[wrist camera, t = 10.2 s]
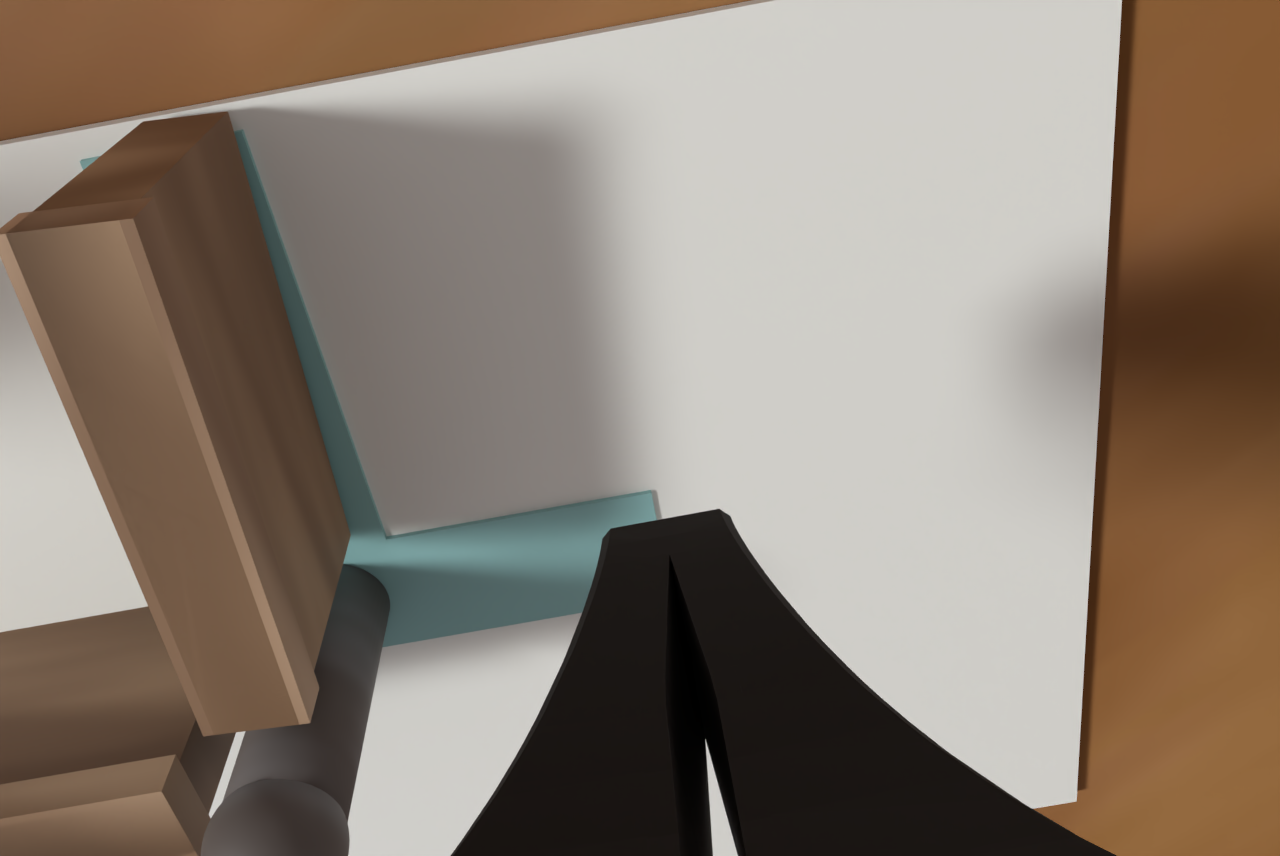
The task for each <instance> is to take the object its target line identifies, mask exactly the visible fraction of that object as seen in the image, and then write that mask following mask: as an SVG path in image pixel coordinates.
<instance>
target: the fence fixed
mask: <svg viewBox="0 0 1280 856" xmlns="http://www.w3.org/2000/svg"><path fill="white" fill-rule="evenodd" d="M389 612H390V599H389V595H388V593H387V590H386V589H385V587H384V586H383V584H382V583H381V582H380V581H379V580H378V579H377V578H376V577H375V576H373V575H372V574H371V573H369V572H367V571H365V570H363V569H361V568H358V567H355V566H352V565H346V564H343V566H342V570H341V573H340V577H339V581H338V584H337V588H336V592H335V596H334V599H333V603H332V607H331V610H330V614H329V618H328V621H327V625H326V629H325V632H324V636H323V640H322V644H321V647H320V651H319V655H318V658H317V662H316V666H315V669H314V673H315V676H316V679H317V682H318V685H319V691H318V695H317V699H316V703H315V707H314V711H313V715H312V718H311V722H310V723H308V724H300V725H292V726H284V727H276V728H267V729H259V730H251V731H245V734H244V737H243V740H242V743H241V746H240V750H239V753H238V756H237V759H236V762H235V765H234V768H233V771H232V774H231V777H230V780H229V783H228V786H227V789H226V792H225V796H224V799H223V802H222V803H221V804H220V806H219V807H218V808H217V809H216V811H215V813H214V814H213V816H212V817H211V818H210V816H209V812H210V809H211V806H212V803H213V800H214V797H215V794H216V791H217V788H218V785H219V782H220V779H221V776H222V773H223V770H224V767H225V764H226V761H227V758H228V755H229V752H230V749H231V746H232V743H233V740H234V737H235V734H236V732H235V733H227V734H219V735H211V736H203V735H202V732H201V730H200V727H199V725H198V723H197V720H196V718H195V716H194V713H193V711H192V709H191V706H190V704H189V701H188V699H187V697H186V694H185V692H184V690H183V687H182V685H181V683H180V680H179V678H178V675H177V673H176V671H175V668H174V666H173V664H172V661H171V659H170V657H169V654H168V652H167V649H166V647H165V645H164V642H163V640H162V638H161V635H160V633H159V631H158V628H157V626H156V624H155V621H154V619H153V616H152V614H151V612H150V609H149V607H148V606H147V607H141V608H136V609H130V610H124V611H119V612H113V613H107V614H102V615H96V616H90V617H85V618H79V619H73V620H68V621H62V622H56V623H50V624H45V625H39V626H33V627H28V628H22V629H16V630H11V631H5V632H0V856H348V854H349V843H350V838H349V828H348V818H349V813H350V808H351V803H352V798H353V792H354V787H355V782H356V777H357V772H358V767H359V762H360V757H361V752H362V747H363V742H364V737H365V732H366V727H367V722H368V717H369V712H370V707H371V702H372V697H373V692H374V687H375V682H376V677H377V672H378V667H379V662H380V657H381V652H382V647H383V642H384V637H385V632H386V627H387V622H388V617H389Z"/></svg>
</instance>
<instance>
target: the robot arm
mask: <svg viewBox="0 0 1280 856" xmlns="http://www.w3.org/2000/svg"><path fill="white" fill-rule="evenodd" d="M705 739H706V741H705ZM706 742H707V746H708V750H709V753H710V757H711V761H712V764H713V768H714V772H715V775H716V779H717V782H718V786H719V790H720V793H721V797H722V800H723V804H724V808H725V811H726V815H727V818H728V822H729V826H730V829H731V833H732V836H733V840H734V844H735V847H736V851H737V855H738V856H1116V855H1114V854H1112V853H1110V852H1108V851H1106V850H1104V849H1102V848H1100V847H1098V846H1096V845H1094V844H1092V843H1090V842H1088V841H1086V840H1084V839H1082V838H1080V837H1079V836H1077V835H1075V834H1074V833H1072V832H1070V831H1069V830H1067V829H1065V828H1064V827H1062V826H1060V825H1059V824H1057V823H1055V822H1054V821H1052V820H1050V819H1049V818H1047V817H1045V816H1043V815H1042V814H1040V813H1038V812H1037V811H1035V810H1033V809H1032V808H1030V807H1028V806H1027V805H1025V804H1024V803H1022V802H1021V801H1019V800H1018V799H1016V798H1015V797H1013V796H1012V795H1010V794H1009V793H1007V792H1006V791H1004V790H1003V789H1002V788H1000V787H999V786H997V785H996V784H994V783H993V782H991V781H990V780H988V779H987V778H985V777H984V776H982V775H981V774H980V773H978V772H977V771H975V770H974V769H972V768H971V767H969V766H968V765H966V764H965V763H963V762H962V761H960V760H959V759H957V758H956V757H955V756H953V755H952V754H950V753H949V752H948V751H946V750H945V749H944V748H942V747H941V746H940V745H938V744H937V743H936V742H935V741H933V740H932V739H931V738H930V737H928V736H927V735H926V734H924V733H923V732H922V731H921V730H919V729H918V728H917V727H915V726H914V725H913V724H912V723H910V722H909V721H908V720H907V719H906V718H904V717H903V716H902V715H901V714H900V713H899V712H897V711H896V710H895V709H894V708H893V707H892V706H890V705H889V704H888V703H887V702H886V701H884V700H883V699H882V698H881V697H880V696H879V695H878V694H876V693H875V692H874V691H873V690H872V689H871V688H870V687H869V686H868V685H867V684H866V683H864V682H863V681H862V680H861V679H860V678H859V677H858V676H857V675H856V674H855V673H854V672H853V671H852V670H851V669H850V668H849V667H848V666H847V665H846V664H845V663H844V662H843V661H842V660H841V659H840V658H839V657H838V656H837V655H836V654H835V653H834V652H833V651H832V650H831V649H830V648H829V647H828V646H827V645H826V644H825V643H824V642H823V641H822V640H821V639H820V637H819V636H818V635H817V634H816V633H815V632H814V631H813V630H812V629H811V628H810V627H809V625H808V624H807V623H806V622H805V621H804V620H803V619H802V617H801V616H800V615H799V614H798V613H797V611H796V610H795V609H794V608H793V607H792V606H791V604H790V603H789V602H788V601H787V600H786V598H785V597H784V596H783V595H782V594H781V593H780V591H779V590H778V589H777V588H776V586H775V585H774V584H773V582H772V581H771V580H770V579H769V577H768V576H767V575H766V573H765V572H764V570H763V569H762V568H761V566H760V565H759V563H758V562H757V561H756V559H755V558H754V557H753V555H752V554H751V552H750V551H749V549H748V547H747V546H746V544H745V543H744V541H743V540H742V538H741V536H740V534H739V533H738V531H737V529H736V527H735V525H734V523H733V521H732V519H731V516H730V515H728V514H727V513H725V512H723V511H722V510H720V509H715V510H709V511H704V512H698V513H693V514H687V515H682V516H676V517H671V518H665V519H660V520H654V521H649V522H643V523H638V524H632V525H627V526H621V527H616V528H611V529H610V530H609V531H608V532H607V534H606V535H605V536H604V537H603V538H602V544H601V550H600V555H599V559H598V563H597V567H596V571H595V575H594V578H593V581H592V585H591V588H590V591H589V594H588V597H587V600H586V603H585V606H584V609H583V612H582V614H581V617H580V620H579V622H578V625H577V627H576V630H575V633H574V635H573V638H572V640H571V643H570V645H569V648H568V651H567V653H566V656H565V658H564V660H563V663H562V665H561V667H560V669H559V672H558V674H557V676H556V678H555V680H554V682H553V684H552V686H551V688H550V691H549V693H548V695H547V697H546V699H545V701H544V703H543V705H542V707H541V710H540V712H539V714H538V716H537V718H536V720H535V722H534V724H533V726H532V727H531V729H530V731H529V733H528V735H527V737H526V739H525V740H524V742H523V744H522V746H521V748H520V749H519V751H518V753H517V755H516V757H515V758H514V760H513V762H512V763H511V765H510V767H509V768H508V770H507V772H506V773H505V775H504V777H503V778H502V780H501V782H500V783H499V785H498V787H497V788H496V790H495V791H494V793H493V795H492V796H491V798H490V799H489V800H488V802H487V803H486V805H485V806H484V808H483V809H482V811H481V812H480V814H479V815H478V817H477V818H476V820H475V821H474V823H473V824H472V826H471V827H470V829H469V830H468V832H467V833H466V835H465V836H464V838H463V839H462V840H461V842H460V843H459V845H458V846H457V847H456V849H455V850H454V851H453V853H452V854H451V856H713V849H712V833H711V817H710V802H709V786H708V771H707V756H706Z"/></svg>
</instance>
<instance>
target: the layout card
mask: <svg viewBox="0 0 1280 856" xmlns="http://www.w3.org/2000/svg"><path fill="white" fill-rule="evenodd" d="M1121 10H1122V0H752V1H746V2H741V3H736V4H730V5H725V6H720V7H714V8H709V9H704V10H698V11H693V12H688V13H682V14H677V15H672V16H666V17H661V18H656V19H650V20H645V21H640V22H634V23H629V24H623V25H618V26H613V27H607V28H602V29H597V30H591V31H586V32H581V33H575V34H570V35H565V36H559V37H554V38H549V39H543V40H538V41H533V42H527V43H522V44H517V45H511V46H506V47H501V48H495V49H490V50H485V51H479V52H474V53H469V54H463V55H458V56H453V57H447V58H442V59H437V60H431V61H426V62H421V63H415V64H410V65H405V66H399V67H394V68H389V69H383V70H378V71H373V72H367V73H362V74H357V75H351V76H346V77H340V78H335V79H330V80H324V81H319V82H314V83H308V84H303V85H298V86H292V87H287V88H282V89H276V90H271V91H266V92H260V93H255V94H250V95H244V96H239V97H234V98H228V99H223V100H218V101H212V102H207V103H202V104H196V105H191V106H186V107H180V108H175V109H170V110H164V111H159V112H154V113H148V114H143V115H138V116H132V117H127V118H122V119H116V120H111V121H106V122H100V123H95V124H90V125H84V126H79V127H74V128H68V129H63V130H57V131H52V132H47V133H41V134H36V135H31V136H25V137H20V138H15V139H9V140H4V141H0V228H1V227H2V226H4V225H5V224H6V223H7V222H9V221H10V220H11V219H12V218H14V217H15V216H16V215H17V214H19V213H25V212H33V211H34V210H35V209H36V208H38V207H39V206H40V205H41V204H42V203H44V202H45V201H46V200H47V199H49V198H50V197H51V196H52V195H53V194H55V193H56V192H57V191H58V190H60V189H61V188H62V187H63V186H65V185H66V184H67V183H68V182H69V181H71V180H72V179H73V178H74V177H76V176H77V175H78V174H79V173H80V172H82V171H83V170H84V169H85V168H87V167H88V166H89V165H90V164H91V163H93V162H94V161H95V160H96V159H98V158H99V157H100V156H101V155H102V154H104V153H105V152H106V151H107V150H109V149H110V148H111V147H112V146H114V145H115V144H116V143H117V142H118V141H120V140H121V139H122V138H123V137H125V136H126V135H127V134H128V133H129V132H131V131H132V130H133V129H134V128H136V127H137V126H138V125H139V124H140V123H142V122H143V121H150V120H159V119H167V118H176V117H184V116H193V115H201V114H209V113H218V112H226V111H228V113H229V116H230V120H231V123H232V127H233V130H234V134H235V137H236V141H237V144H238V147H239V151H240V154H241V158H242V161H243V165H244V168H245V172H246V175H247V179H248V182H249V185H250V189H251V192H252V196H253V199H254V203H255V206H256V210H257V213H258V216H259V220H260V223H261V227H262V230H263V234H264V237H265V241H266V244H267V248H268V251H269V254H270V258H271V261H272V265H273V268H274V272H275V275H276V279H277V282H278V286H279V289H280V292H281V296H282V299H283V303H284V306H285V310H286V313H287V317H288V320H289V323H290V327H291V330H292V334H293V337H294V341H295V344H296V348H297V351H298V355H299V358H300V361H301V365H302V368H303V372H304V375H305V379H306V382H307V386H308V389H309V393H310V396H311V399H312V403H313V406H314V410H315V413H316V417H317V420H318V424H319V427H320V430H321V434H322V437H323V441H324V444H325V448H326V451H327V455H328V458H329V462H330V465H331V468H332V472H333V475H334V479H335V482H336V486H337V489H338V493H339V496H340V499H341V503H342V506H343V510H344V513H345V517H346V520H347V524H348V527H349V531H350V534H351V536H350V540H349V544H348V548H347V551H346V555H345V559H344V562H343V564H346V565H352V566H355V567H358V568H361V569H363V570H365V571H367V572H369V573H371V574H372V575H373V576H375V577H376V578H377V579H378V580H379V581H380V582H381V583H382V584H383V586H384V587H385V589H386V590H387V593H388V595H389V599H390V612H389V617H388V622H387V627H386V632H385V637H384V642H383V647H382V652H381V657H380V662H379V667H378V672H377V677H376V682H375V687H374V692H373V697H372V702H371V707H370V712H369V717H368V722H367V727H366V732H365V737H364V742H363V747H362V752H361V757H360V762H359V767H358V772H357V777H356V782H355V787H354V792H353V798H352V803H351V808H350V813H349V818H348V828H349V838H350V843H349V854H348V856H451V854H452V853H453V851H454V850H455V849H456V847H457V846H458V845H459V843H460V842H461V840H462V839H463V838H464V836H465V835H466V833H467V832H468V830H469V829H470V827H471V826H472V824H473V823H474V821H475V820H476V818H477V817H478V815H479V814H480V812H481V811H482V809H483V808H484V806H485V805H486V803H487V802H488V800H489V799H490V798H491V796H492V795H493V793H494V791H495V790H496V788H497V787H498V785H499V783H500V782H501V780H502V778H503V777H504V775H505V773H506V772H507V770H508V768H509V767H510V765H511V763H512V762H513V760H514V758H515V757H516V755H517V753H518V751H519V749H520V748H521V746H522V744H523V742H524V740H525V739H526V737H527V735H528V733H529V731H530V729H531V727H532V726H533V724H534V722H535V720H536V718H537V716H538V714H539V712H540V710H541V707H542V705H543V703H544V701H545V699H546V697H547V695H548V693H549V691H550V688H551V686H552V684H553V682H554V680H555V678H556V676H557V674H558V672H559V669H560V667H561V665H562V663H563V660H564V658H565V656H566V653H567V651H568V648H569V645H570V643H571V640H572V638H573V635H574V633H575V630H576V627H577V625H578V622H579V620H580V617H581V614H582V612H583V609H584V606H585V603H586V600H587V597H588V594H589V591H590V588H591V585H592V581H593V578H594V575H595V571H596V567H597V563H598V559H599V555H600V550H601V544H602V538H603V537H604V536H605V535H606V534H607V532H608V531H609V530H610V529H611V528H616V527H621V526H627V525H632V524H638V523H643V522H649V521H654V520H660V519H665V518H671V517H676V516H682V515H687V514H693V513H698V512H704V511H709V510H715V509H720V510H722V511H723V512H725V513H727V514H728V515H730V516H731V519H732V521H733V523H734V525H735V527H736V529H737V531H738V533H739V534H740V536H741V538H742V540H743V541H744V543H745V544H746V546H747V547H748V549H749V551H750V552H751V554H752V555H753V557H754V558H755V559H756V561H757V562H758V563H759V565H760V566H761V568H762V569H763V570H764V572H765V573H766V575H767V576H768V577H769V579H770V580H771V581H772V582H773V584H774V585H775V586H776V588H777V589H778V590H779V591H780V593H781V594H782V595H783V596H784V597H785V598H786V600H787V601H788V602H789V603H790V604H791V606H792V607H793V608H794V609H795V610H796V611H797V613H798V614H799V615H800V616H801V617H802V619H803V620H804V621H805V622H806V623H807V624H808V625H809V627H810V628H811V629H812V630H813V631H814V632H815V633H816V634H817V635H818V636H819V637H820V639H821V640H822V641H823V642H824V643H825V644H826V645H827V646H828V647H829V648H830V649H831V650H832V651H833V652H834V653H835V654H836V655H837V656H838V657H839V658H840V659H841V660H842V661H843V662H844V663H845V664H846V665H847V666H848V667H849V668H850V669H851V670H852V671H853V672H854V673H855V674H856V675H857V676H858V677H859V678H860V679H861V680H862V681H863V682H864V683H866V684H867V685H868V686H869V687H870V688H871V689H872V690H873V691H874V692H875V693H876V694H878V695H879V696H880V697H881V698H882V699H883V700H884V701H886V702H887V703H888V704H889V705H890V706H892V707H893V708H894V709H895V710H896V711H897V712H899V713H900V714H901V715H902V716H903V717H904V718H906V719H907V720H908V721H909V722H910V723H912V724H913V725H914V726H915V727H917V728H918V729H919V730H921V731H922V732H923V733H924V734H926V735H927V736H928V737H930V738H931V739H932V740H933V741H935V742H936V743H937V744H938V745H940V746H941V747H942V748H944V749H945V750H946V751H948V752H949V753H950V754H952V755H953V756H955V757H956V758H957V759H959V760H960V761H962V762H963V763H965V764H966V765H968V766H969V767H971V768H972V769H974V770H975V771H977V772H978V773H980V774H981V775H982V776H984V777H985V778H987V779H988V780H990V781H991V782H993V783H994V784H996V785H997V786H999V787H1000V788H1002V789H1003V790H1004V791H1006V792H1007V793H1009V794H1010V795H1012V796H1013V797H1015V798H1016V799H1018V800H1019V801H1021V802H1022V803H1024V804H1025V805H1027V806H1028V807H1030V808H1032V809H1034V808H1040V807H1046V806H1052V805H1058V804H1064V803H1070V802H1076V801H1077V783H1078V766H1079V748H1080V731H1081V713H1082V695H1083V678H1084V660H1085V643H1086V625H1087V607H1088V590H1089V572H1090V555H1091V537H1092V520H1093V502H1094V484H1095V467H1096V449H1097V432H1098V414H1099V396H1100V379H1101V361H1102V344H1103V326H1104V309H1105V291H1106V273H1107V256H1108V238H1109V221H1110V203H1111V185H1112V168H1113V150H1114V133H1115V115H1116V98H1117V80H1118V62H1119V45H1120V27H1121ZM147 606H148V605H147V602H146V600H145V598H144V595H143V593H142V590H141V588H140V586H139V583H138V581H137V579H136V576H135V574H134V572H133V569H132V567H131V564H130V562H129V560H128V557H127V555H126V553H125V550H124V548H123V546H122V543H121V541H120V538H119V536H118V534H117V531H116V529H115V527H114V524H113V522H112V520H111V517H110V515H109V512H108V510H107V508H106V505H105V503H104V501H103V498H102V496H101V494H100V491H99V489H98V487H97V484H96V482H95V479H94V477H93V475H92V472H91V470H90V468H89V465H88V463H87V461H86V458H85V456H84V453H83V451H82V449H81V446H80V444H79V442H78V439H77V437H76V435H75V432H74V430H73V427H72V425H71V423H70V420H69V418H68V416H67V413H66V411H65V409H64V406H63V404H62V401H61V399H60V397H59V394H58V392H57V390H56V387H55V385H54V383H53V380H52V378H51V375H50V373H49V371H48V368H47V366H46V364H45V361H44V359H43V357H42V354H41V352H40V349H39V347H38V345H37V342H36V340H35V338H34V335H33V333H32V331H31V328H30V326H29V324H28V321H27V319H26V316H25V314H24V312H23V309H22V307H21V305H20V302H19V300H18V298H17V295H16V293H15V290H14V288H13V286H12V283H11V281H10V279H9V276H8V274H7V272H6V269H5V267H4V264H3V262H2V260H1V257H0V632H5V631H11V630H16V629H22V628H28V627H33V626H39V625H45V624H50V623H56V622H62V621H68V620H73V619H79V618H85V617H90V616H96V615H102V614H107V613H113V612H119V611H124V610H130V609H136V608H141V607H147ZM244 734H245V731H243V732H236V734H235V737H234V740H233V743H232V746H231V749H230V752H229V755H228V758H227V761H226V764H225V767H224V770H223V773H222V776H221V779H220V782H219V785H218V788H217V791H216V794H215V797H214V800H213V803H212V806H211V809H210V812H209V816H210V818H211V817H212V816H213V814H214V813H215V811H216V809H217V808H218V807H219V806H220V804H221V803H222V802H223V799H224V796H225V792H226V789H227V786H228V783H229V780H230V777H231V774H232V771H233V768H234V765H235V762H236V759H237V756H238V753H239V750H240V746H241V743H242V740H243V737H244ZM705 741H706V739H705ZM706 756H707V771H708V786H709V802H710V817H711V833H712V849H713V856H738V855H737V851H736V847H735V844H734V840H733V836H732V833H731V829H730V826H729V822H728V818H727V815H726V811H725V808H724V804H723V800H722V797H721V793H720V790H719V786H718V782H717V779H716V775H715V772H714V768H713V764H712V761H711V757H710V753H709V750H708V746H707V742H706Z"/></svg>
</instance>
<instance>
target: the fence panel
mask: <svg viewBox="0 0 1280 856" xmlns="http://www.w3.org/2000/svg"><path fill="white" fill-rule="evenodd" d="M0 257H1V260H2V262H3V264H4V267H5V269H6V272H7V274H8V276H9V279H10V281H11V283H12V286H13V288H14V290H15V293H16V295H17V298H18V300H19V302H20V305H21V307H22V309H23V312H24V314H25V316H26V319H27V321H28V324H29V326H30V328H31V331H32V333H33V335H34V338H35V340H36V342H37V345H38V347H39V349H40V352H41V354H42V357H43V359H44V361H45V364H46V366H47V368H48V371H49V373H50V375H51V378H52V380H53V383H54V385H55V387H56V390H57V392H58V394H59V397H60V399H61V401H62V404H63V406H64V409H65V411H66V413H67V416H68V418H69V420H70V423H71V425H72V427H73V430H74V432H75V435H76V437H77V439H78V442H79V444H80V446H81V449H82V451H83V453H84V456H85V458H86V461H87V463H88V465H89V468H90V470H91V472H92V475H93V477H94V479H95V482H96V484H97V487H98V489H99V491H100V494H101V496H102V498H103V501H104V503H105V505H106V508H107V510H108V512H109V515H110V517H111V520H112V522H113V524H114V527H115V529H116V531H117V534H118V536H119V538H120V541H121V543H122V546H123V548H124V550H125V553H126V555H127V557H128V560H129V562H130V564H131V567H132V569H133V572H134V574H135V576H136V579H137V581H138V583H139V586H140V588H141V590H142V593H143V595H144V598H145V600H146V602H147V605H148V607H149V609H150V612H151V614H152V616H153V619H154V621H155V624H156V626H157V628H158V631H159V633H160V635H161V638H162V640H163V642H164V645H165V647H166V649H167V652H168V654H169V657H170V659H171V661H172V664H173V666H174V668H175V671H176V673H177V675H178V678H179V680H180V683H181V685H182V687H183V690H184V692H185V694H186V697H187V699H188V701H189V704H190V706H191V709H192V711H193V713H194V716H195V718H196V720H197V723H198V725H199V727H200V730H201V732H202V735H203V736H211V735H219V734H227V733H235V732H243V731H251V730H259V729H267V728H276V727H284V726H292V725H300V724H308V723H310V722H311V718H312V715H313V711H314V707H315V703H316V699H317V695H318V691H319V685H318V682H317V679H316V676H315V673H314V669H315V666H316V662H317V658H318V655H319V651H320V647H321V644H322V640H323V636H324V632H325V629H326V625H327V621H328V618H329V614H330V610H331V607H332V603H333V599H334V596H335V592H336V588H337V584H338V581H339V577H340V573H341V570H342V566H343V562H344V559H345V555H346V551H347V548H348V544H349V540H350V536H351V534H350V531H349V527H348V524H347V520H346V517H345V513H344V510H343V506H342V503H341V499H340V496H339V493H338V489H337V486H336V482H335V479H334V475H333V472H332V468H331V465H330V462H329V458H328V455H327V451H326V448H325V444H324V441H323V437H322V434H321V430H320V427H319V424H318V420H317V417H316V413H315V410H314V406H313V403H312V399H311V396H310V393H309V389H308V386H307V382H306V379H305V375H304V372H303V368H302V365H301V361H300V358H299V355H298V351H297V348H296V344H295V341H294V337H293V334H292V330H291V327H290V323H289V320H288V317H287V313H286V310H285V306H284V303H283V299H282V296H281V292H280V289H279V286H278V282H277V279H276V275H275V272H274V268H273V265H272V261H271V258H270V254H269V251H268V248H267V244H266V241H265V237H264V234H263V230H262V227H261V223H260V220H259V216H258V213H257V210H256V206H255V203H254V199H253V196H252V192H251V189H250V185H249V182H248V179H247V175H246V172H245V168H244V165H243V161H242V158H241V154H240V151H239V147H238V144H237V141H236V137H235V134H234V130H233V127H232V123H231V120H230V116H229V113H228V111H226V112H218V113H209V114H201V115H193V116H184V117H176V118H167V119H159V120H150V121H143V122H142V123H140V124H139V125H138V126H137V127H136V128H134V129H133V130H132V131H131V132H129V133H128V134H127V135H126V136H125V137H123V138H122V139H121V140H120V141H118V142H117V143H116V144H115V145H114V146H112V147H111V148H110V149H109V150H107V151H106V152H105V153H104V154H102V155H101V156H100V157H99V158H98V159H96V160H95V161H94V162H93V163H91V164H90V165H89V166H88V167H87V168H85V169H84V170H83V171H82V172H80V173H79V174H78V175H77V176H76V177H74V178H73V179H72V180H71V181H69V182H68V183H67V184H66V185H65V186H63V187H62V188H61V189H60V190H58V191H57V192H56V193H55V194H53V195H52V196H51V197H50V198H49V199H47V200H46V201H45V202H44V203H42V204H41V205H40V206H39V207H38V208H36V209H35V210H34V211H33V212H25V213H19V214H17V215H16V216H15V217H14V218H12V219H11V220H10V221H9V222H7V223H6V224H5V225H4V226H2V227H1V228H0Z"/></svg>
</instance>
